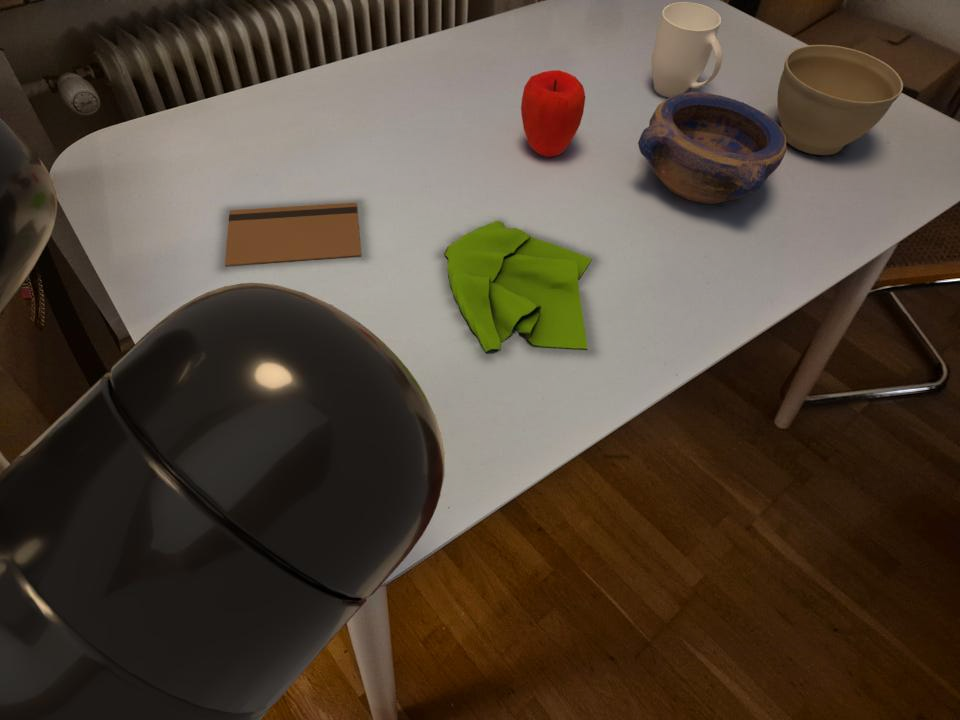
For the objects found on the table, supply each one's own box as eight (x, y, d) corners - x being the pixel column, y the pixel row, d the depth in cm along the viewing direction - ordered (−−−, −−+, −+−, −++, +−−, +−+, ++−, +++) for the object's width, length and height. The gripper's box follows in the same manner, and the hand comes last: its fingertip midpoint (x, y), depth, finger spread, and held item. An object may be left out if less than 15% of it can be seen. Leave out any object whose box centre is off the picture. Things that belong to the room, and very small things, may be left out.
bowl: (779, 175, 97) (810, 113, 89) (736, 243, 87) (767, 179, 79) (665, 131, 102) (685, 68, 94) (614, 189, 92) (631, 125, 85)
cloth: (487, 210, 88) (488, 195, 86) (637, 281, 81) (642, 266, 80) (392, 301, 77) (391, 287, 75) (556, 391, 70) (559, 378, 69)
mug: (631, 84, 110) (650, 9, 101) (668, 70, 114) (689, -4, 104) (684, 118, 105) (709, 43, 95) (720, 102, 108) (748, 28, 99)
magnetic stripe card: (225, 266, 79) (224, 264, 79) (230, 211, 85) (229, 209, 85) (361, 256, 81) (361, 254, 81) (356, 203, 87) (356, 202, 87)
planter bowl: (864, 124, 106) (902, 58, 98) (862, 181, 97) (904, 113, 88) (763, 100, 109) (791, 33, 101) (751, 152, 100) (781, 84, 91)
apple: (524, 125, 101) (532, 56, 92) (580, 137, 100) (594, 68, 91) (509, 158, 95) (517, 88, 87) (569, 171, 94) (582, 101, 86)
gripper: (394, 310, 31) (370, 325, 47) (70, 405, 28) (161, 387, 44) (441, 461, 32) (402, 426, 47) (128, 572, 29) (197, 495, 44)
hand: (286, 407), depth 46 cm, fingers open, 8 cm apart
